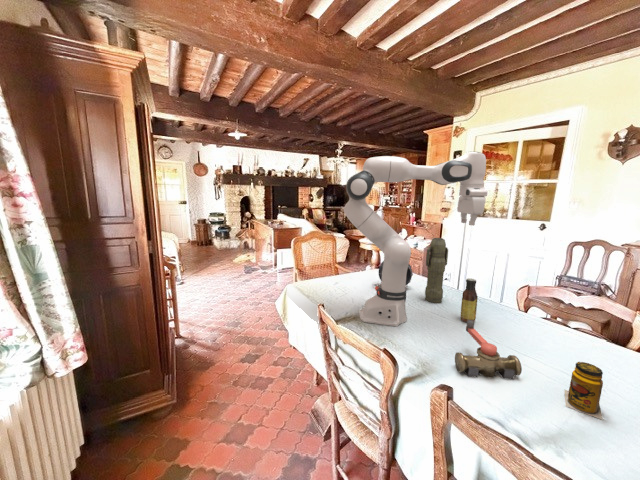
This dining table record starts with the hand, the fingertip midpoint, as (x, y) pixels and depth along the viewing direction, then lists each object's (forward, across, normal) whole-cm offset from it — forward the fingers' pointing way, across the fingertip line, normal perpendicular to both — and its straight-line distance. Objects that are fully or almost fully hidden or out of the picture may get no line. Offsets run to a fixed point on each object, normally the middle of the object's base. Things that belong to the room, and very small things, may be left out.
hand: (467, 224), depth 116 cm
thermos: (+46, -25, -4) cm, 52 cm away
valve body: (+46, +36, -2) cm, 58 cm away
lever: (+38, +30, -3) cm, 49 cm away
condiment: (+46, +46, +19) cm, 68 cm away
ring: (+46, -41, -24) cm, 66 cm away
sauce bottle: (+46, -2, +6) cm, 46 cm away
